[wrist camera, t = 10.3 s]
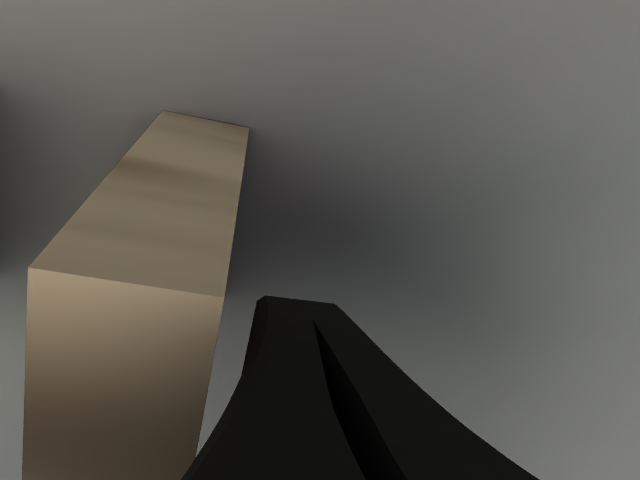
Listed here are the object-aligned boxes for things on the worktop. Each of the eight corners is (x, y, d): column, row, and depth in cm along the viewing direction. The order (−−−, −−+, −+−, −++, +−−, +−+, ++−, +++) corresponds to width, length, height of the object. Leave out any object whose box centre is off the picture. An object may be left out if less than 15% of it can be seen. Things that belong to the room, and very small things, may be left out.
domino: (218, 302, 15) (170, 593, 8) (141, 291, 15) (19, 583, 8) (249, 128, 13) (224, 297, 6) (162, 110, 13) (27, 267, 6)
